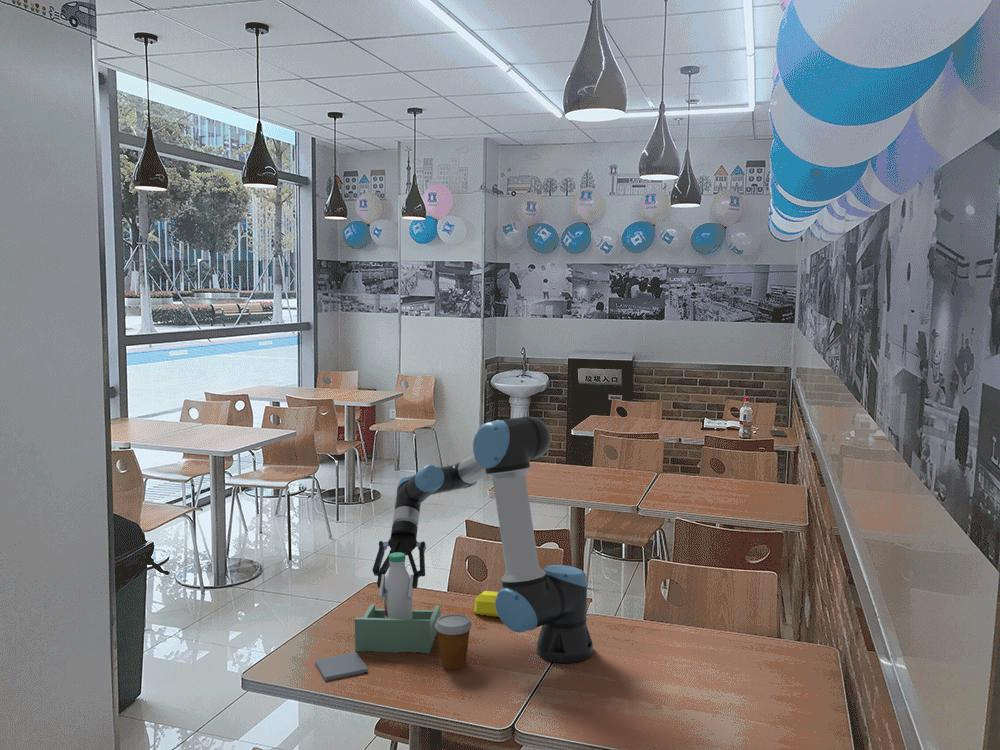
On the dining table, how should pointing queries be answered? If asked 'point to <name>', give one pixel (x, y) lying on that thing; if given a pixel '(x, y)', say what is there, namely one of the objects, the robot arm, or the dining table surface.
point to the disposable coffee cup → (453, 639)
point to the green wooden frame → (396, 631)
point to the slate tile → (341, 666)
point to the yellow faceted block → (486, 604)
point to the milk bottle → (397, 589)
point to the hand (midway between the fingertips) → (395, 598)
